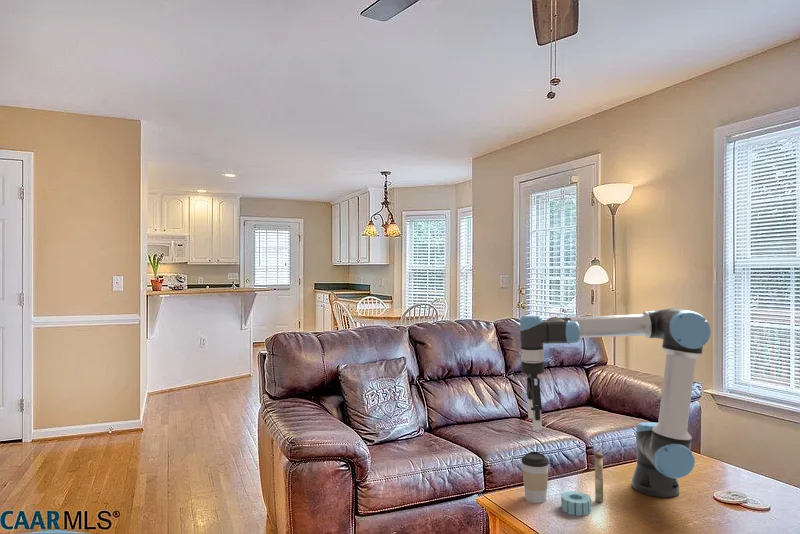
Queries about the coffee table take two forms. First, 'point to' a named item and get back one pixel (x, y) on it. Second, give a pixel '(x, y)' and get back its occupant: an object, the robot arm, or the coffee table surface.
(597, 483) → the tan cylindrical rod
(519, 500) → the coffee table surface
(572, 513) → the bead
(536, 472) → the coffee cup
